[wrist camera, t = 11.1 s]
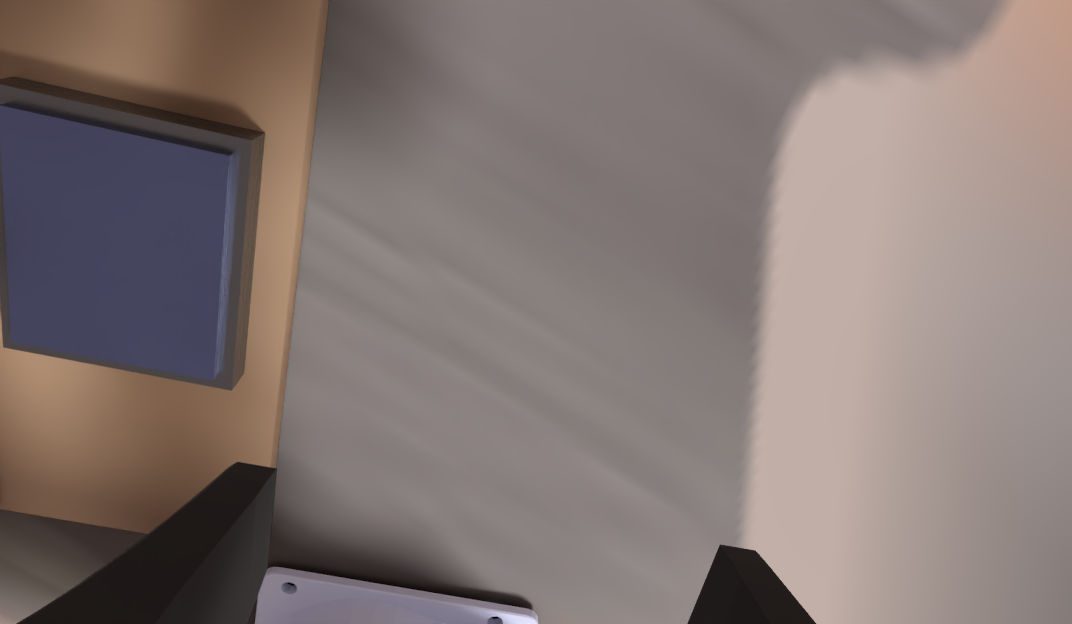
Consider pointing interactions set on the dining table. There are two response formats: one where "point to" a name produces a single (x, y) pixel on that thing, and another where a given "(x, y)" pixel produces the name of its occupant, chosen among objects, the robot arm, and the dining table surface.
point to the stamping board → (288, 122)
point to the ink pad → (126, 233)
